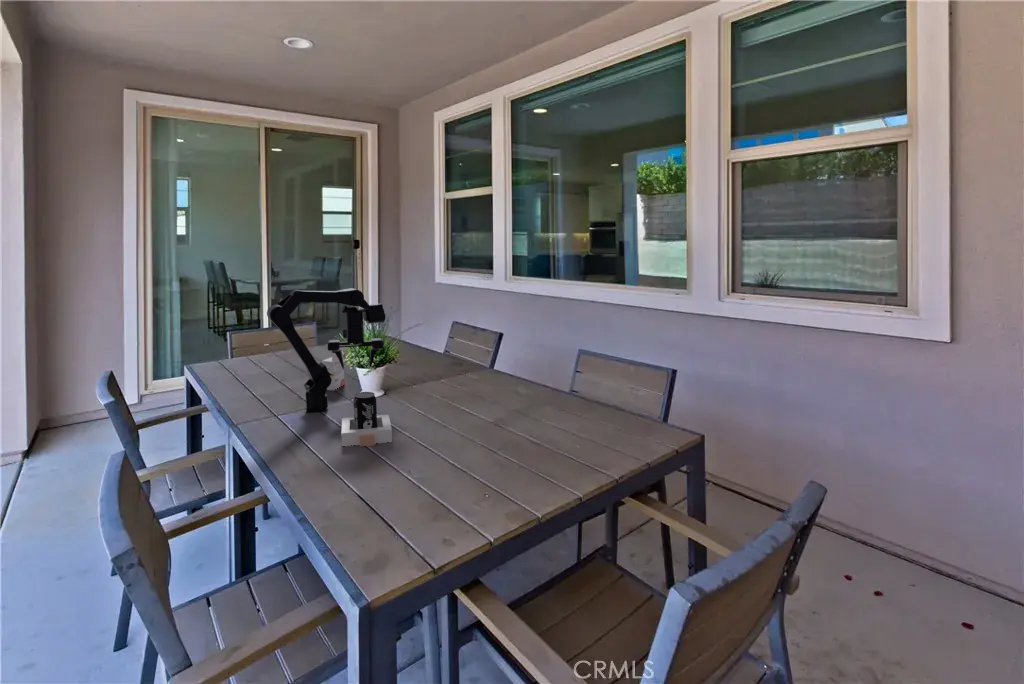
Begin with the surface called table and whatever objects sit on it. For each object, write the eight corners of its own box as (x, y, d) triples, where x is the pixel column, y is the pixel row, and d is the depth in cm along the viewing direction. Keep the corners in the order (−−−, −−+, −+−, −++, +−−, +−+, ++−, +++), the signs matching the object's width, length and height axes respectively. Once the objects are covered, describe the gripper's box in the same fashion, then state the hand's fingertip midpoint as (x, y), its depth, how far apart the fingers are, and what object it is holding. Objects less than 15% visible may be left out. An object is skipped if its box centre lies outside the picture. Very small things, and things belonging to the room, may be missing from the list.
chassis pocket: (341, 448, 156) (341, 435, 155) (342, 430, 170) (342, 418, 170) (392, 444, 159) (392, 430, 159) (388, 426, 174) (388, 414, 173)
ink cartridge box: (333, 384, 223) (332, 348, 220) (345, 385, 222) (343, 349, 219) (322, 390, 215) (320, 353, 212) (334, 390, 214) (332, 353, 211)
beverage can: (381, 431, 167) (380, 393, 165) (367, 438, 161) (366, 398, 159) (364, 427, 170) (363, 390, 168) (350, 434, 164) (348, 395, 162)
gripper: (381, 320, 203) (382, 361, 206) (327, 322, 198) (330, 364, 201) (382, 325, 192) (384, 368, 195) (326, 327, 187) (328, 371, 190)
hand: (356, 368), depth 196 cm, fingers open, 9 cm apart
